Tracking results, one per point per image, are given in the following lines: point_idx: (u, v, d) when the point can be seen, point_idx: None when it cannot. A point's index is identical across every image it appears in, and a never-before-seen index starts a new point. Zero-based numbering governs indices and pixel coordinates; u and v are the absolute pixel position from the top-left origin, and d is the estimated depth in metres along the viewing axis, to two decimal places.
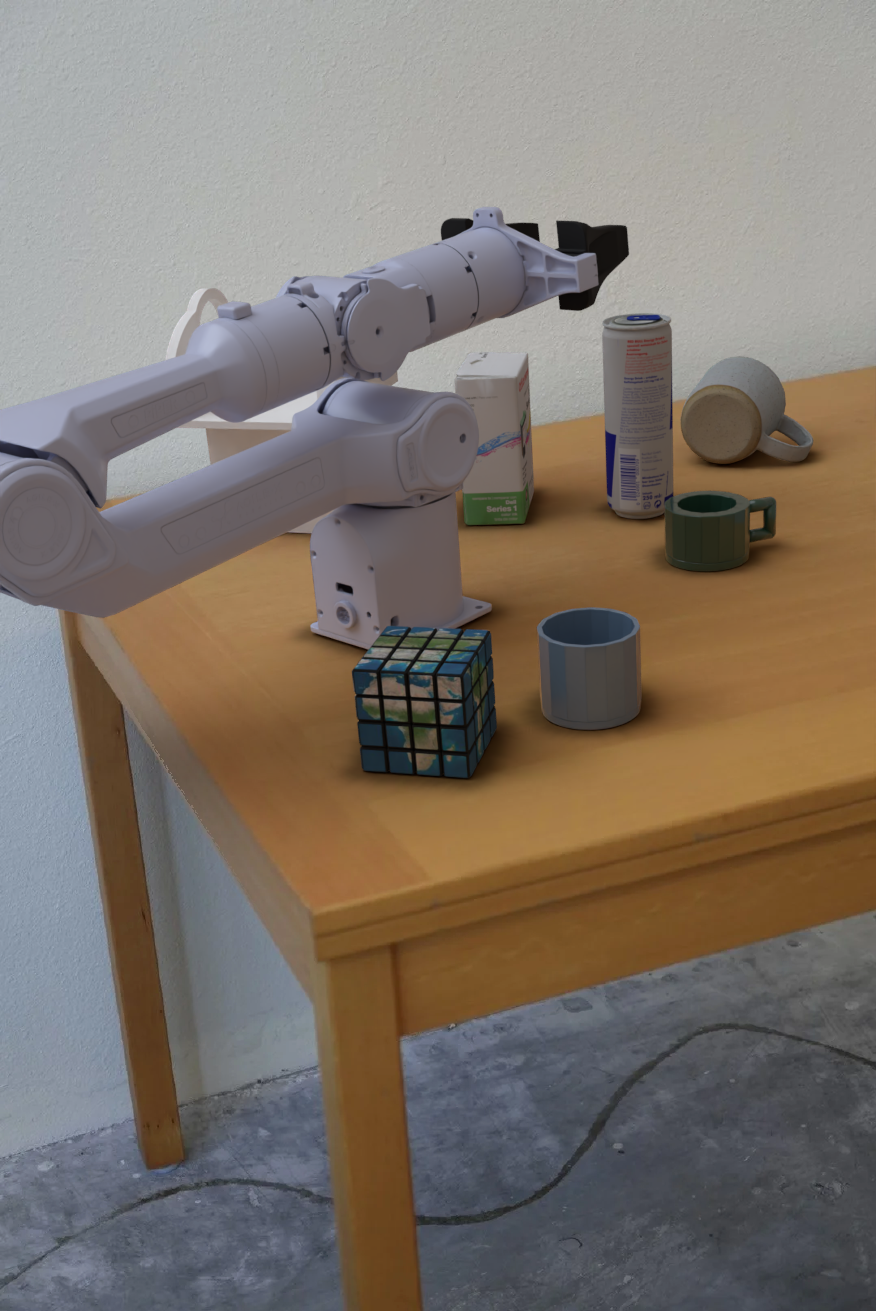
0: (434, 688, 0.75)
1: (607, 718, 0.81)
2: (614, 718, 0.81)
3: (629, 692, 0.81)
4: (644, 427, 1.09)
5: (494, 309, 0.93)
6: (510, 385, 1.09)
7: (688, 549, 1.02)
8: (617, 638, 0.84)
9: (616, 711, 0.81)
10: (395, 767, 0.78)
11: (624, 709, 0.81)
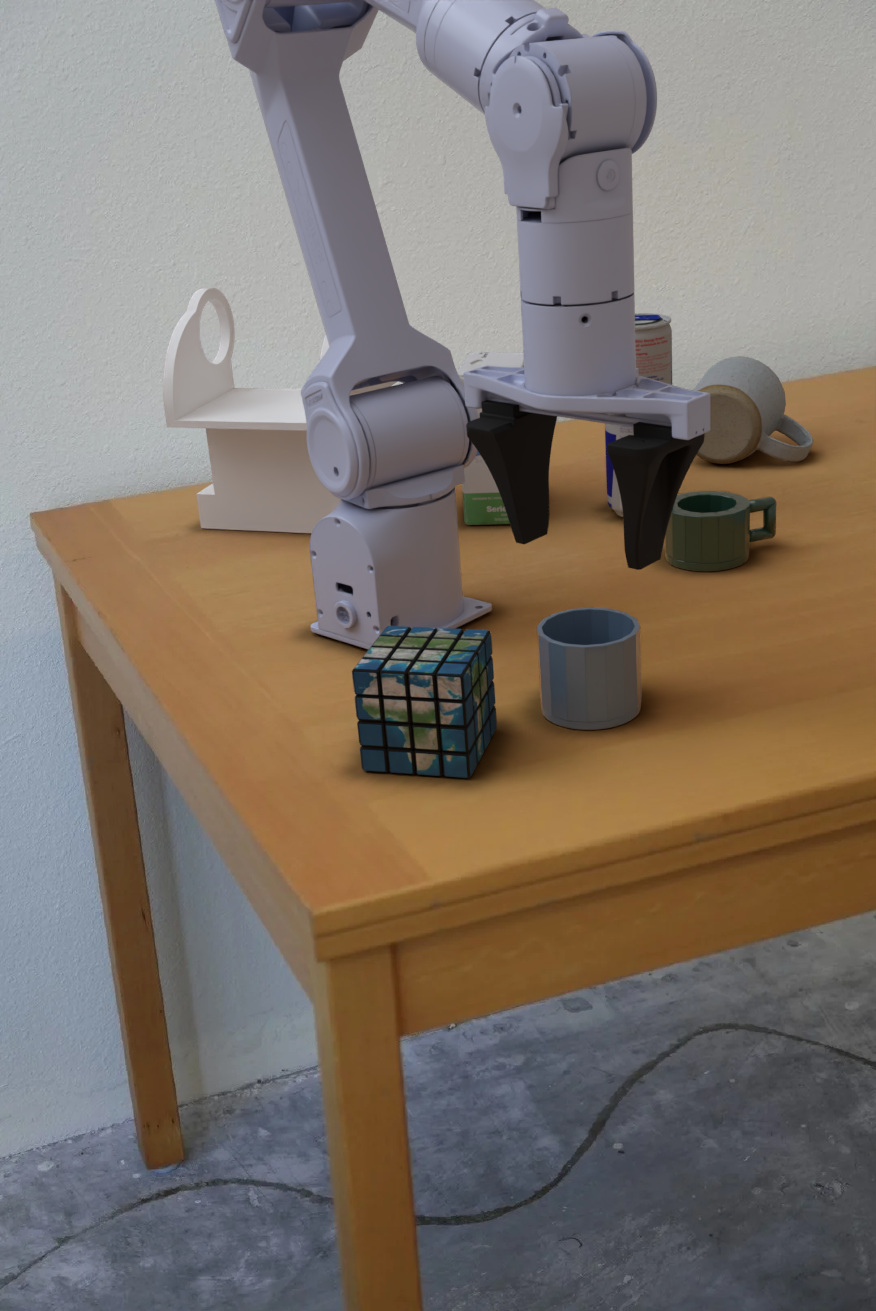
0: (434, 688, 0.75)
1: (607, 718, 0.81)
2: (614, 718, 0.81)
3: (629, 692, 0.81)
4: None
5: (595, 342, 0.72)
6: None
7: (688, 549, 1.02)
8: (617, 638, 0.84)
9: (616, 711, 0.81)
10: (395, 767, 0.78)
11: (624, 709, 0.81)
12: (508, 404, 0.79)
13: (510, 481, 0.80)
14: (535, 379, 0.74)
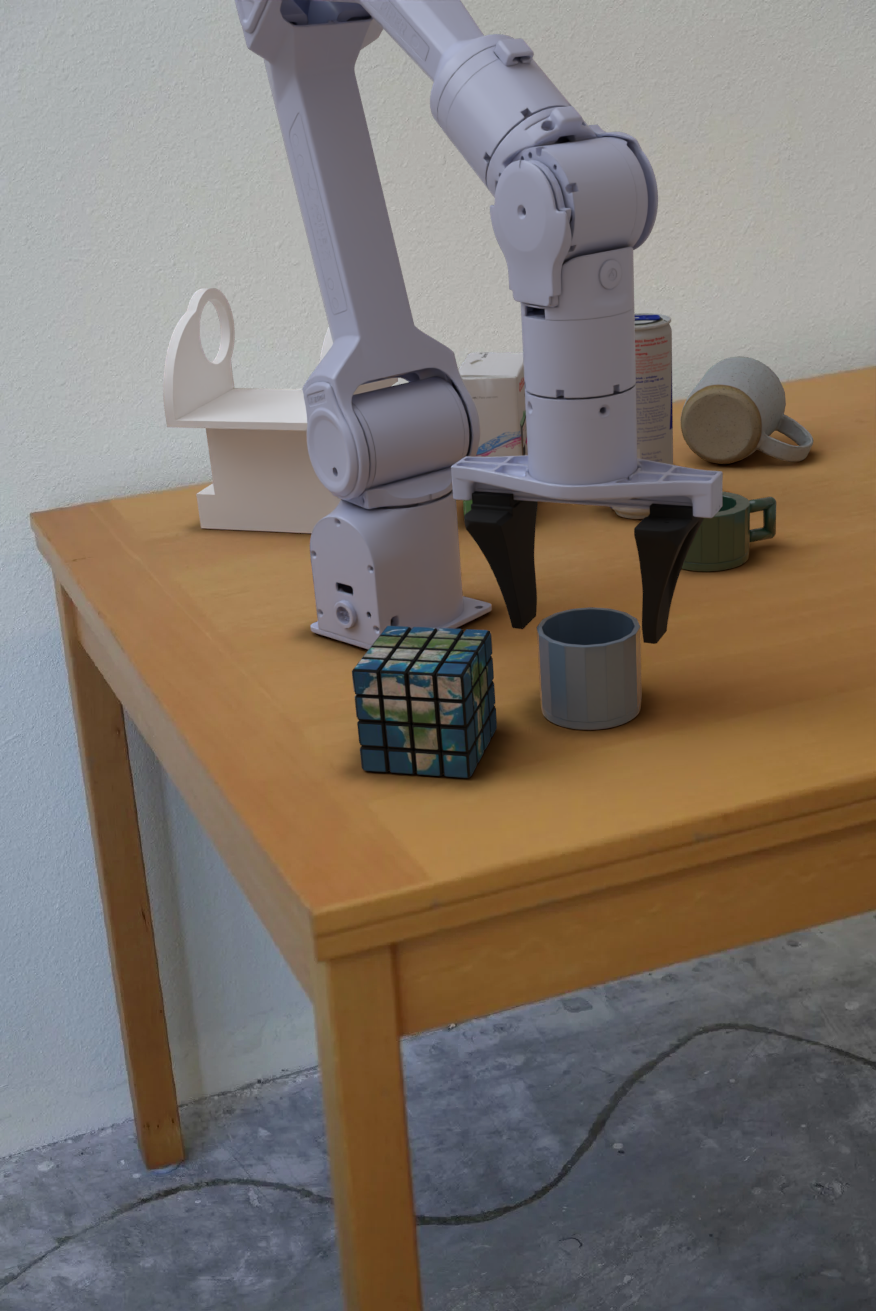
0: (434, 688, 0.75)
1: (607, 718, 0.81)
2: (614, 718, 0.81)
3: (629, 692, 0.81)
4: (644, 427, 1.09)
5: (613, 430, 0.74)
6: (510, 385, 1.09)
7: None
8: (617, 638, 0.84)
9: (616, 711, 0.81)
10: (395, 767, 0.78)
11: (624, 709, 0.81)
12: (502, 494, 0.80)
13: (511, 569, 0.80)
14: (551, 470, 0.76)
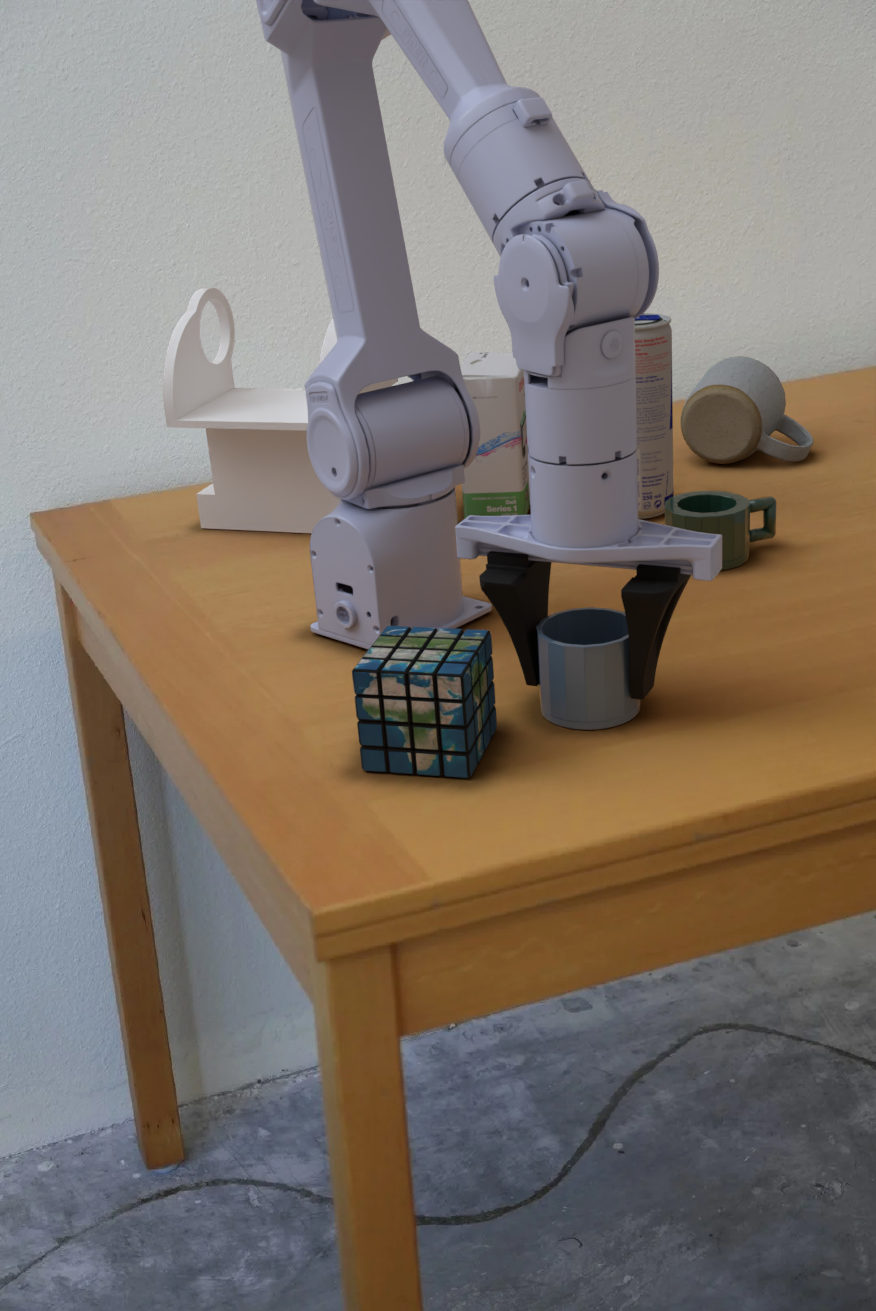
0: (434, 688, 0.75)
1: (606, 718, 0.81)
2: (614, 718, 0.81)
3: (628, 692, 0.81)
4: (644, 427, 1.09)
5: (614, 495, 0.76)
6: (510, 385, 1.09)
7: None
8: (616, 638, 0.84)
9: (615, 711, 0.81)
10: (395, 767, 0.78)
11: (624, 709, 0.81)
12: (517, 555, 0.81)
13: (525, 629, 0.81)
14: (554, 534, 0.77)
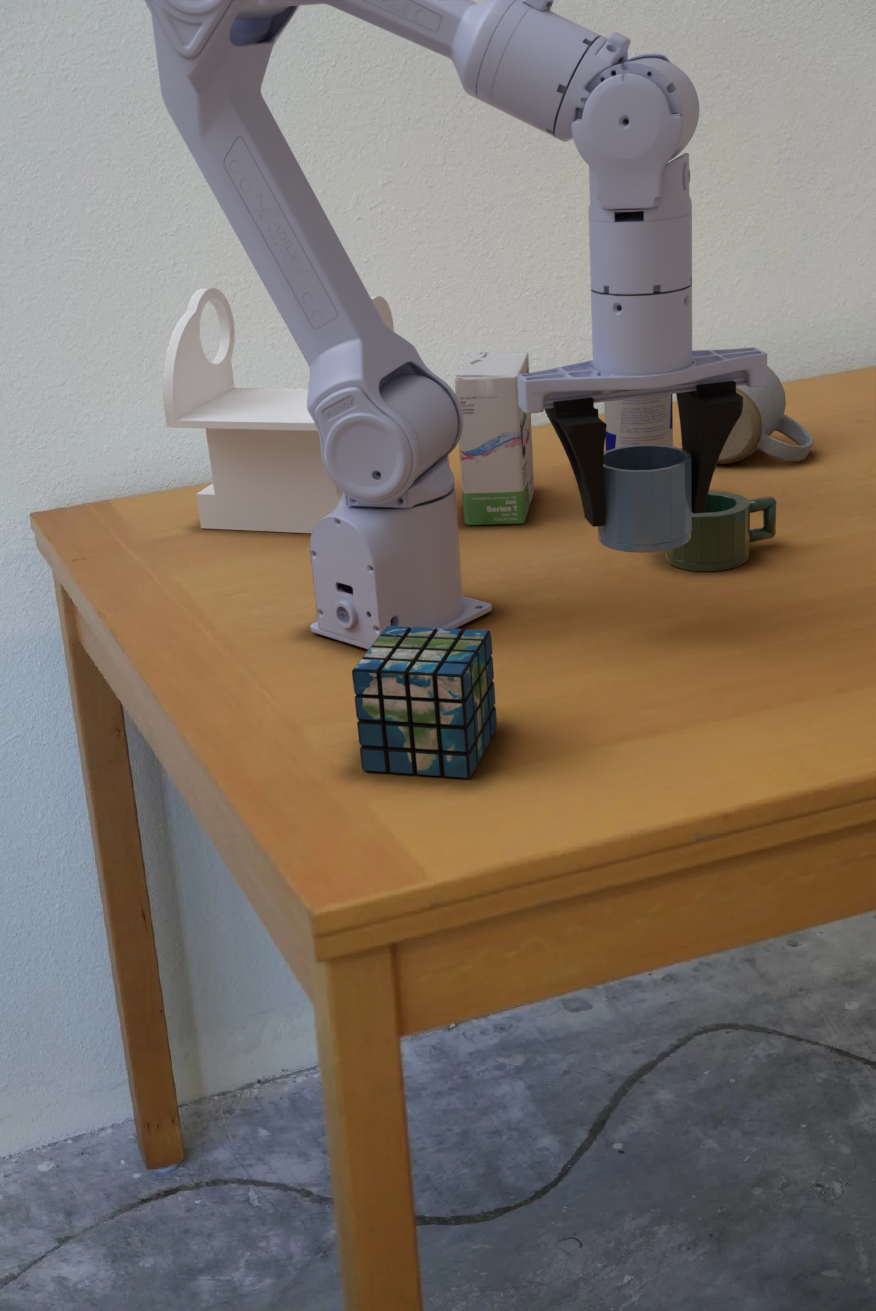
0: (434, 688, 0.75)
1: (684, 534, 0.88)
2: (687, 534, 0.88)
3: (691, 508, 0.88)
4: (644, 427, 1.09)
5: (690, 319, 0.83)
6: (510, 385, 1.09)
7: (688, 549, 1.02)
8: None
9: (688, 527, 0.88)
10: (395, 767, 0.78)
11: (691, 525, 0.88)
12: (583, 399, 0.85)
13: (602, 467, 0.86)
14: (645, 363, 0.83)
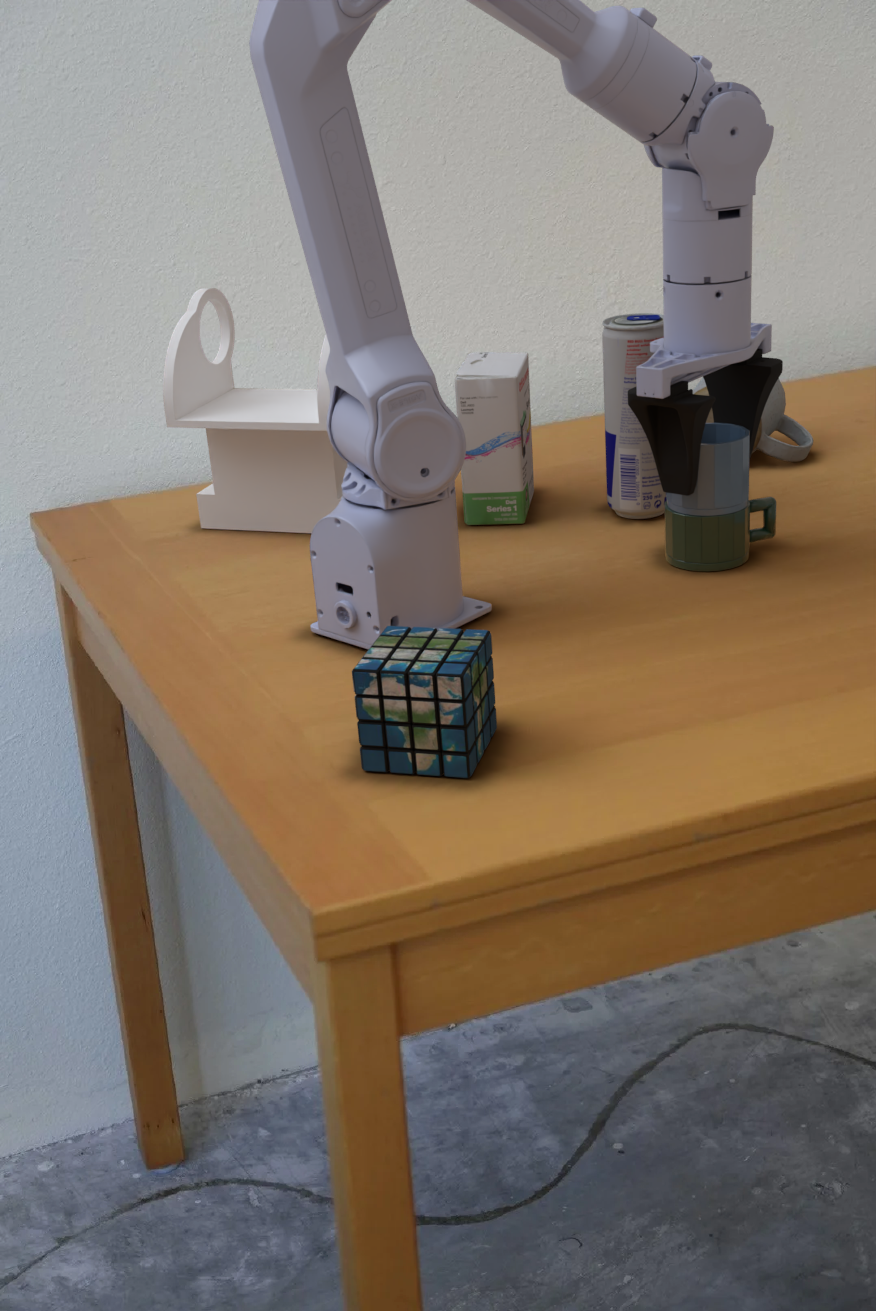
0: (434, 688, 0.75)
1: None
2: None
3: None
4: None
5: None
6: (510, 385, 1.09)
7: (688, 549, 1.02)
8: None
9: None
10: (395, 767, 0.78)
11: None
12: (680, 382, 0.95)
13: (700, 440, 0.97)
14: (739, 339, 0.96)
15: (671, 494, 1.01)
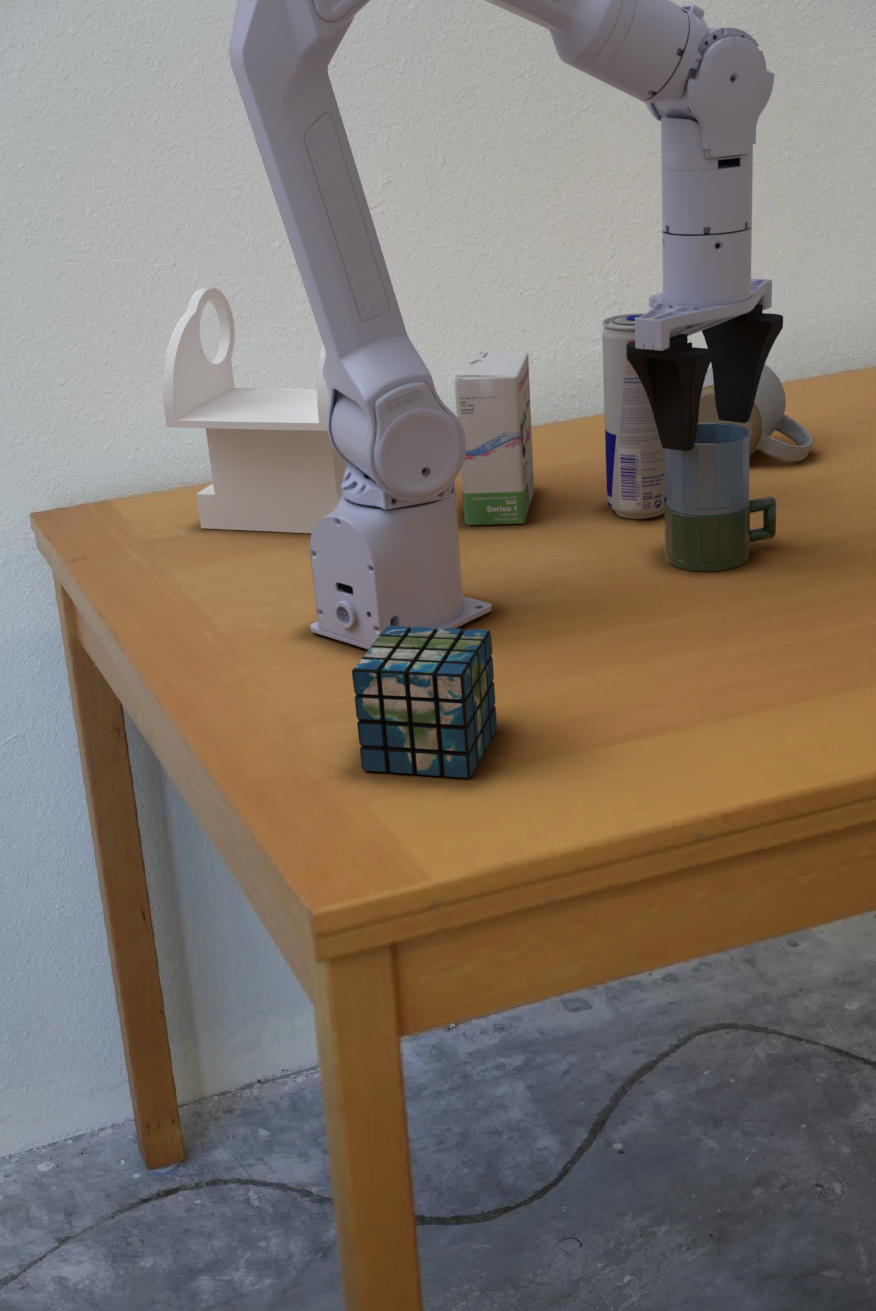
0: (434, 688, 0.75)
1: None
2: None
3: None
4: (644, 427, 1.09)
5: None
6: (510, 385, 1.09)
7: (688, 549, 1.02)
8: None
9: None
10: (395, 767, 0.78)
11: None
12: (680, 335, 0.94)
13: (699, 394, 0.96)
14: (739, 292, 0.95)
15: (671, 494, 1.01)
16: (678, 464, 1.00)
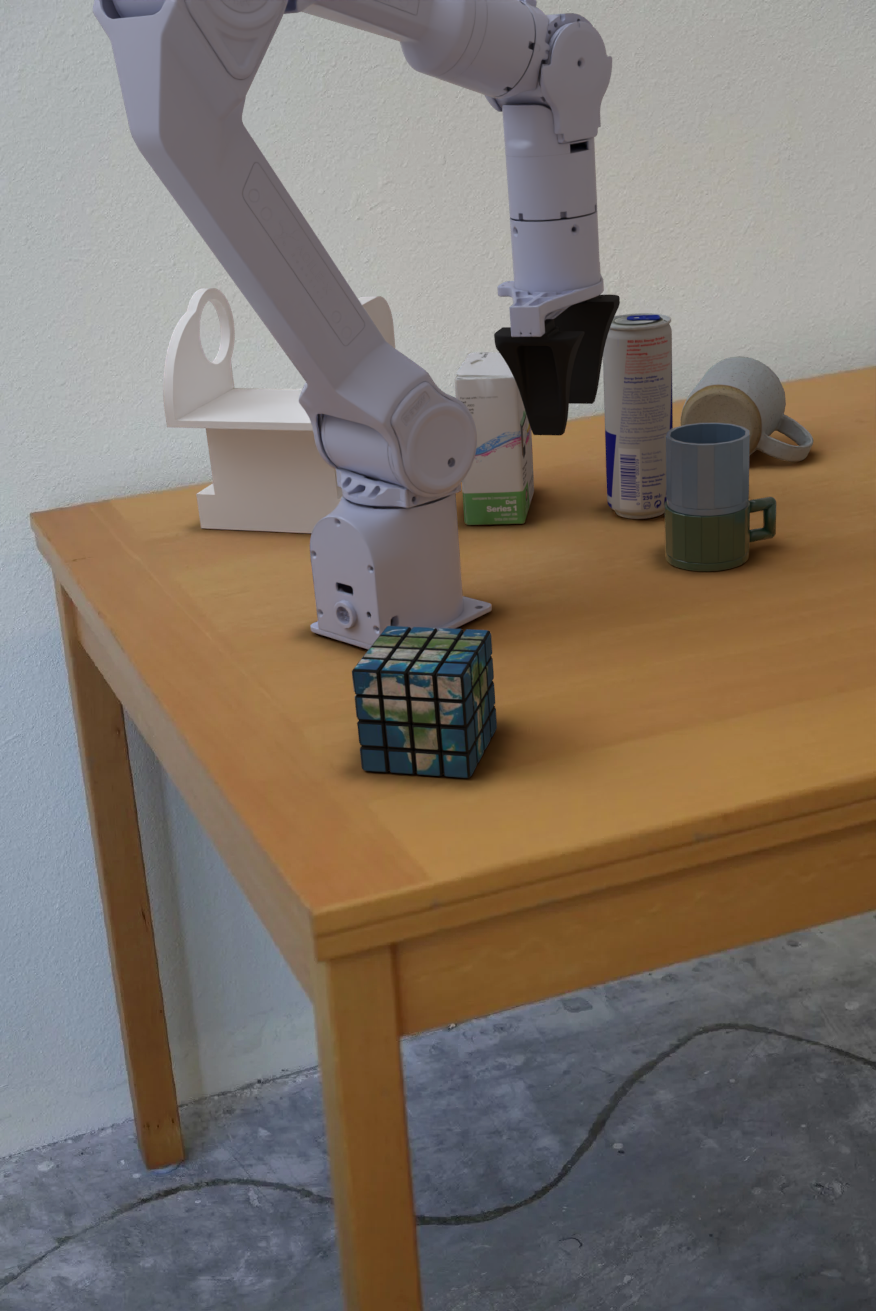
0: (434, 688, 0.75)
1: None
2: None
3: None
4: (644, 427, 1.09)
5: None
6: (510, 385, 1.09)
7: (688, 549, 1.02)
8: None
9: None
10: (395, 767, 0.78)
11: None
12: (548, 320, 0.95)
13: (569, 377, 0.96)
14: (594, 273, 0.96)
15: (671, 494, 1.01)
16: (678, 464, 1.00)
